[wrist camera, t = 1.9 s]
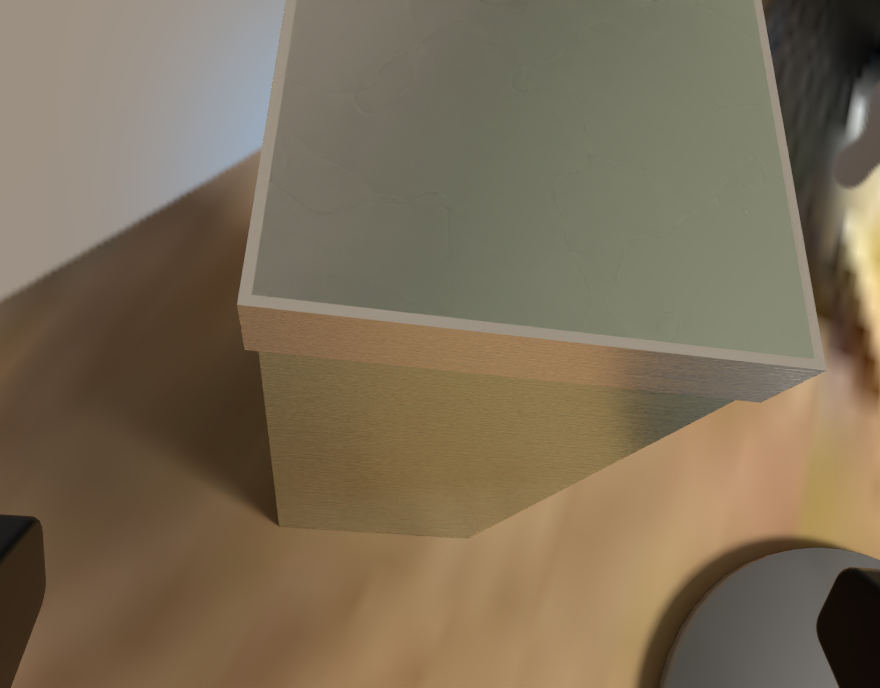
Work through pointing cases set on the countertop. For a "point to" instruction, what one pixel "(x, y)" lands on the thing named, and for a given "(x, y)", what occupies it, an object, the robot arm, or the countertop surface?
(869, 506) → the countertop surface
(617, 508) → the countertop surface
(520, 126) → the sage tea tin
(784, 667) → the slate coaster
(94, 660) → the countertop surface
